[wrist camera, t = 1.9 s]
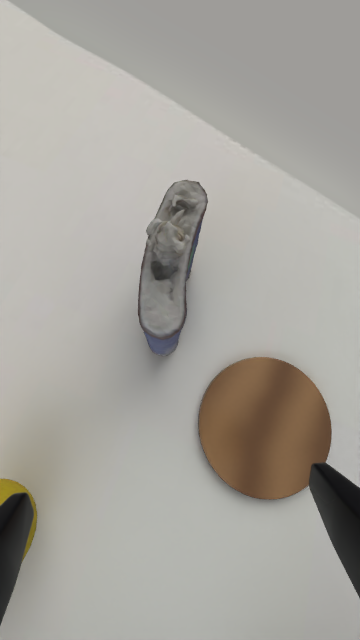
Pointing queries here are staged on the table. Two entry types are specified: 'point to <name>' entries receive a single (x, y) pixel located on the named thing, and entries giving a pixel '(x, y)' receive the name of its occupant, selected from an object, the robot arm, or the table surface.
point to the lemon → (6, 488)
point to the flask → (169, 264)
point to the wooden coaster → (264, 427)
